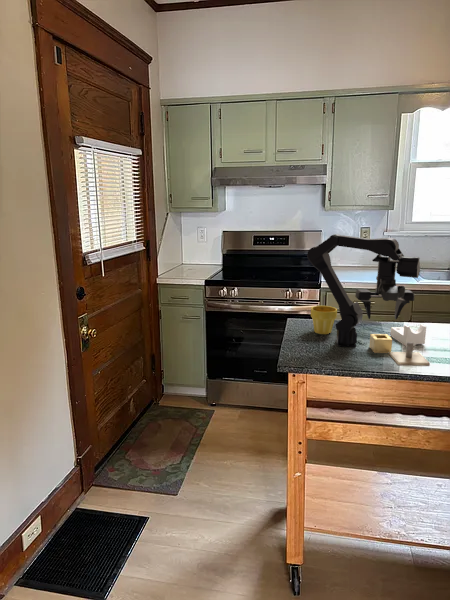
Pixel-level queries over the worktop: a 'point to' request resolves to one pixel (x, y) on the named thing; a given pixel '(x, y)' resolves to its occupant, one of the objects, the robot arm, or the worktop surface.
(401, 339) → the bracket
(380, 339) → the brass collar
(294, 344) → the worktop surface
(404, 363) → the post board
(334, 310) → the plant pot
